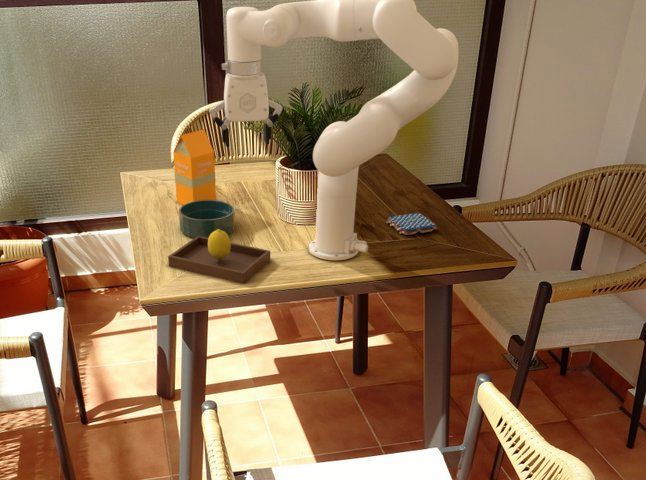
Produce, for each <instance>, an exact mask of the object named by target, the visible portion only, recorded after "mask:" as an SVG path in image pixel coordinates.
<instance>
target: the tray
mask: <svg viewBox="0 0 646 480" xmlns="http://www.w3.org/2000/svg"><path fill="white" fill-rule="evenodd" d="M208 239H209V238H207V237H202V236H197V237H196V238H193V239H191V240H189V241H188V242H187V243H185V244H184V245H182V246H181V247H179V248H178V249H177V250H175V251H174V252H172V253H170V254H169V255H167V259H168V260H167V261H168V267H172V268H175V269H180V270H184V271H189V272H194V273H197V274H202V275H205V276H210V277H215V278H219V279H223V280H227V281H232V282H236V283H240V284H245V283H246V282H247V281H249V279H251V278H252V277H254V275H255V274H257V273H258V272H259V271H260V270H261V269H262V268H264V267H265V266H266V265H267V264H268V263H269V262H270V261H271V250H268V249H265V248H264V249H263V248H260V247H256V246H255V247H254V246H249V245H245V244H240V243H235V242H231V241H230V243H231V248H230V252H229V254H228V255H227V256H226V257H225V258H223V259H222V260H218V259H216V258H214V257H212V256H211V254H210V253H209V250H208Z"/></svg>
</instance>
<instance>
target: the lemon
mask: <svg viewBox="0 0 646 480" xmlns="http://www.w3.org/2000/svg"><path fill="white" fill-rule="evenodd" d="M230 242H231V239H230V236H229V234H228V235H227V233H225V232H224V231H222V230H220V229H217V230H216V231H214V232H212V233H211V234H210V236H209V239H208V250H209V253H210V254H211V256H212V257H214V258H216V259H218V260H222V259H223V258H225V257H226V256H227V255H228V254H229V252H230V248H231V243H232V242H231V243H230Z"/></svg>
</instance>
